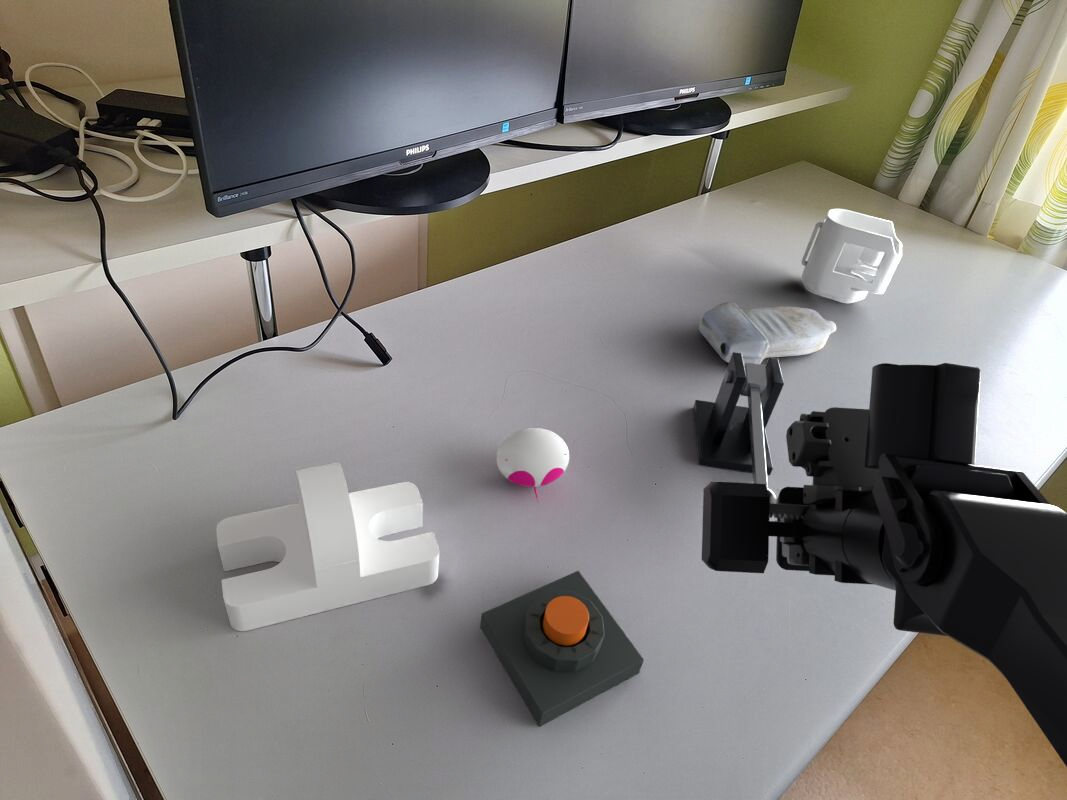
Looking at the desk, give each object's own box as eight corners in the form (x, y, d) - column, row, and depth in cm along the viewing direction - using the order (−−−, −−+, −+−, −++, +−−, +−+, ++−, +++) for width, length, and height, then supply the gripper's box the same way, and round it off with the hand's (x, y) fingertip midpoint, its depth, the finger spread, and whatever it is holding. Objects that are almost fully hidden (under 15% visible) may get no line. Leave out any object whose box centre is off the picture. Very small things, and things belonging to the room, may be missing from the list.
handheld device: (851, 356, 104) (864, 329, 101) (725, 375, 98) (735, 346, 95) (810, 316, 111) (822, 289, 107) (690, 331, 104) (698, 303, 101)
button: (594, 635, 63) (597, 623, 61) (557, 653, 61) (560, 641, 60) (570, 601, 65) (573, 589, 64) (534, 618, 63) (537, 606, 62)
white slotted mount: (441, 581, 69) (445, 503, 62) (231, 634, 63) (209, 554, 56) (414, 504, 76) (415, 425, 69) (221, 545, 69) (200, 463, 62)
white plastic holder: (874, 314, 113) (909, 243, 105) (791, 290, 115) (819, 219, 108) (875, 293, 118) (909, 223, 110) (795, 271, 120) (823, 201, 113)
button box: (639, 673, 64) (649, 647, 62) (539, 727, 60) (545, 702, 57) (574, 584, 71) (581, 557, 68) (479, 627, 66) (482, 600, 63)
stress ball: (497, 512, 80) (505, 505, 74) (489, 438, 82) (497, 425, 76) (566, 505, 82) (580, 498, 75) (557, 433, 83) (570, 419, 77)
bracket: (769, 475, 84) (803, 403, 77) (698, 465, 84) (725, 391, 77) (758, 416, 92) (787, 345, 85) (692, 406, 92) (716, 334, 85)
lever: (772, 524, 74) (783, 510, 71) (742, 520, 74) (752, 505, 71) (761, 380, 84) (770, 363, 82) (734, 376, 84) (743, 359, 82)
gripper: (1034, 417, 48) (905, 432, 63) (740, 400, 47) (682, 420, 63) (1037, 598, 47) (904, 568, 62) (735, 583, 46) (678, 557, 62)
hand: (792, 524), depth 62 cm, fingers closed
